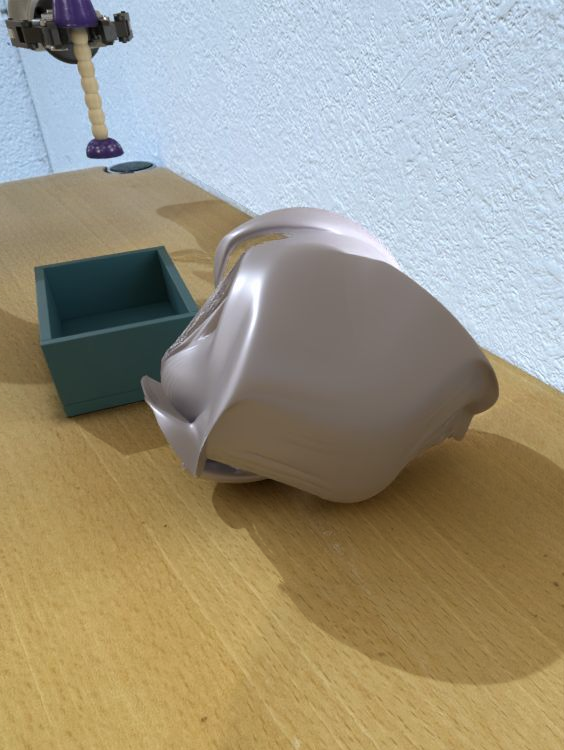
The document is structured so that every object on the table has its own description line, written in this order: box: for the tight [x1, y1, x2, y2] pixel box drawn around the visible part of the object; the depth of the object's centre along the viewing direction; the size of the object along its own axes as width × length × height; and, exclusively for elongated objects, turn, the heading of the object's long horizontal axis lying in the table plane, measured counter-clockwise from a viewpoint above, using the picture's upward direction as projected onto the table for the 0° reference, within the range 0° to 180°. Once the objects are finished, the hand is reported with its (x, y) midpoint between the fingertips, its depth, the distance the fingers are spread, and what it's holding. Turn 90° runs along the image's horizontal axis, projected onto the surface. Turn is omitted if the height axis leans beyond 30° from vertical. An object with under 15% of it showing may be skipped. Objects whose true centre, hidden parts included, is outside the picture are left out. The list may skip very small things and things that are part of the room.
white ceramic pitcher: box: [141, 206, 500, 504], centre depth 43 cm, size 20×18×15 cm
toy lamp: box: [52, 0, 125, 160], centre depth 77 cm, size 5×5×17 cm
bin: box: [33, 245, 200, 418], centre depth 59 cm, size 18×12×6 cm, turn 23°
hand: (82, 35), depth 73 cm, fingers closed on toy lamp, 4 cm apart
